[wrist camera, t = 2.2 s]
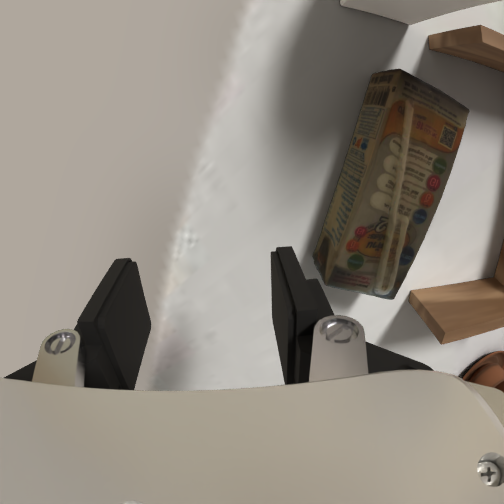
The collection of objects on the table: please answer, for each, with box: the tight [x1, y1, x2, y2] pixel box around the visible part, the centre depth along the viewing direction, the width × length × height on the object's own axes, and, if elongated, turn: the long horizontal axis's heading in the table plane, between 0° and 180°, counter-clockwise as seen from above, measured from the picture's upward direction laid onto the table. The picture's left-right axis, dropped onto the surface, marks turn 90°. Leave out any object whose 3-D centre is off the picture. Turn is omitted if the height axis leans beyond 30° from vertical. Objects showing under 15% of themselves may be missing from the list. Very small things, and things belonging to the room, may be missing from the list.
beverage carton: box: [313, 69, 469, 300], centre depth 25 cm, size 8×19×6 cm, turn 165°
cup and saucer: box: [462, 351, 504, 393], centre depth 40 cm, size 12×12×6 cm
